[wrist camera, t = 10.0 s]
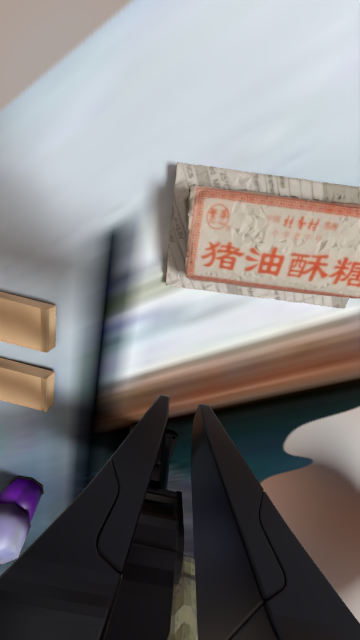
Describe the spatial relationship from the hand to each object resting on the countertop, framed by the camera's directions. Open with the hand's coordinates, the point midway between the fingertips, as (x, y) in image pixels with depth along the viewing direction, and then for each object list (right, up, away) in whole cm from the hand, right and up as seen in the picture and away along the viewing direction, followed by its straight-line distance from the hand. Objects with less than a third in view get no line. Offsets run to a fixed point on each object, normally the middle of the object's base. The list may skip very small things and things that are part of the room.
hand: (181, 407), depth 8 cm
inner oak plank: (-20, -4, +16) cm, 26 cm away
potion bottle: (-25, -24, +24) cm, 42 cm away
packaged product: (+8, +11, +10) cm, 17 cm away
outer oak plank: (-18, +4, +13) cm, 23 cm away
